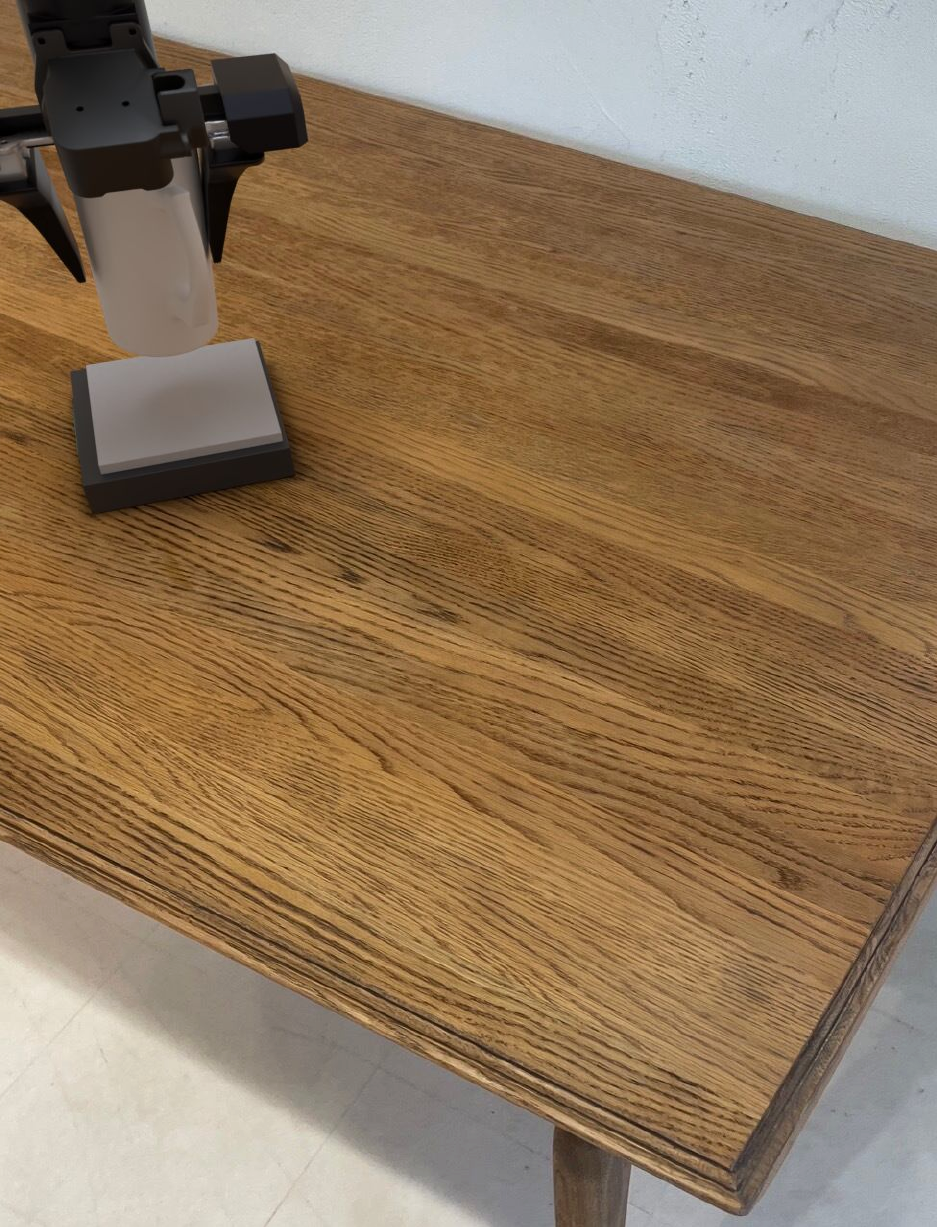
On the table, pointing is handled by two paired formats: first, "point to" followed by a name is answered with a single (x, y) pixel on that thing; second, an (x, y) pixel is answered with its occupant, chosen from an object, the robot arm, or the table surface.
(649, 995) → the table surface
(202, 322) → the mug
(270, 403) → the scale
